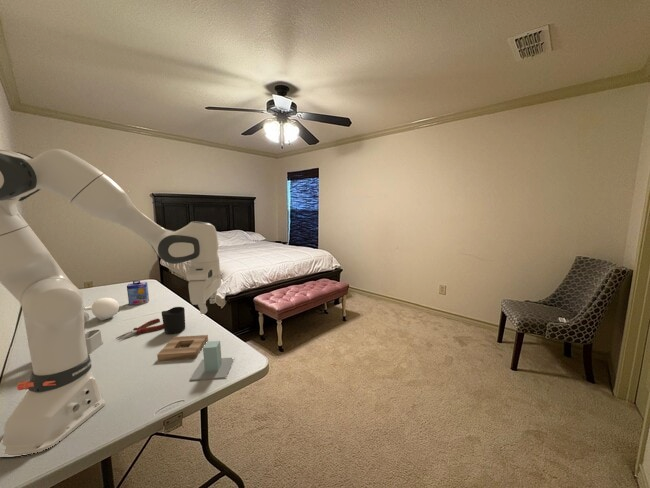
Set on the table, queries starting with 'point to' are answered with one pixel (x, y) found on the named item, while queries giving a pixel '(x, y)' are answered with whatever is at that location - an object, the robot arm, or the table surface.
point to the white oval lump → (104, 308)
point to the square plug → (212, 356)
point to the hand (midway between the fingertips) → (208, 307)
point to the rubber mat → (221, 373)
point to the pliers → (143, 329)
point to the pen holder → (174, 320)
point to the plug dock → (175, 352)
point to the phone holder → (92, 337)
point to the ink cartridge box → (137, 293)
